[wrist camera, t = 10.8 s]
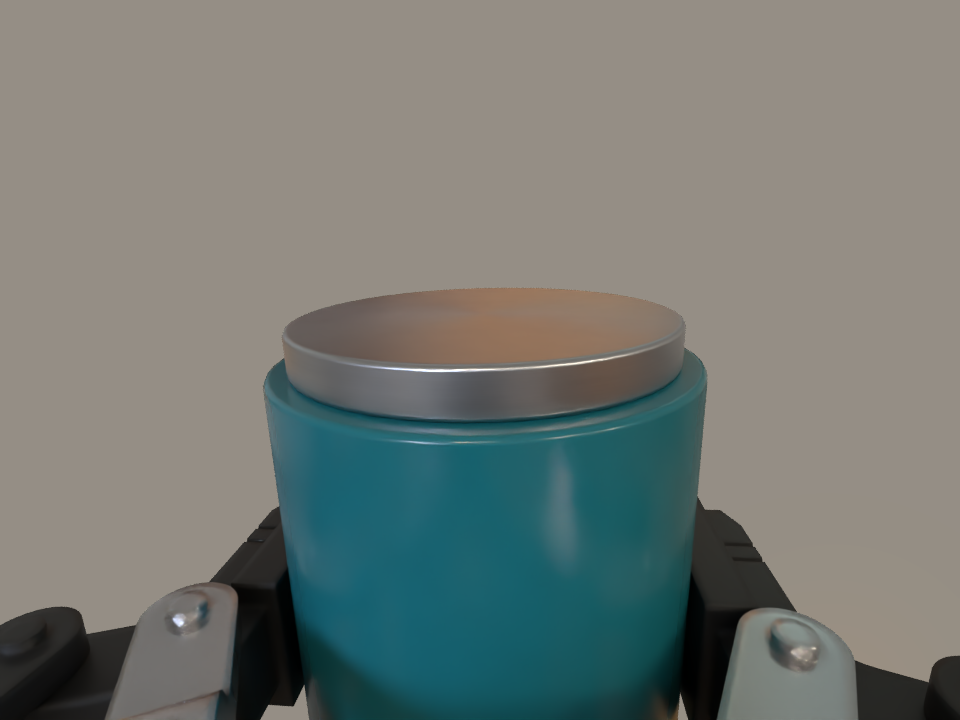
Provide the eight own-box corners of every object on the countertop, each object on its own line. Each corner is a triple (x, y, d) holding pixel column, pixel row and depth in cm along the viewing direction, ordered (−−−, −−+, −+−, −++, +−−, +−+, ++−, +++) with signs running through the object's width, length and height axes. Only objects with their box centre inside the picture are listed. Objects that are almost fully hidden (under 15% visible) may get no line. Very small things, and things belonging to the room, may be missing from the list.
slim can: (272, 1007, 10) (141, 343, 6) (442, 723, 15) (416, 281, 12) (617, 1288, 7) (684, 411, 4) (674, 824, 12) (723, 292, 9)
